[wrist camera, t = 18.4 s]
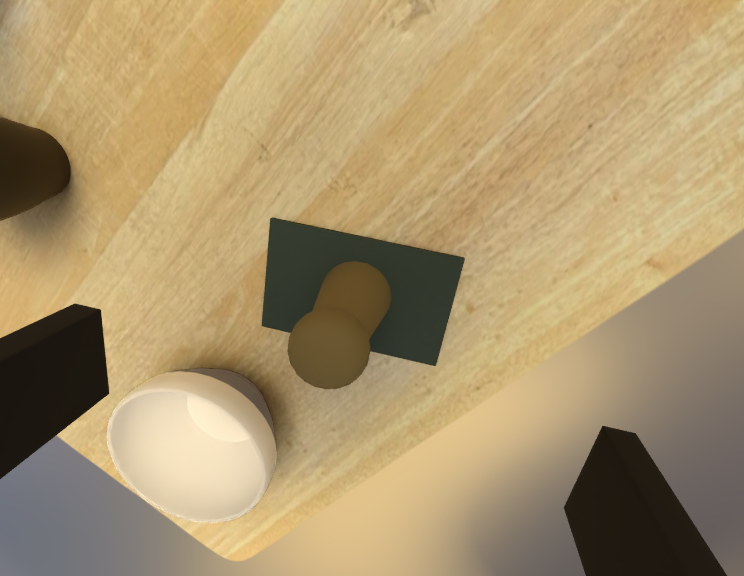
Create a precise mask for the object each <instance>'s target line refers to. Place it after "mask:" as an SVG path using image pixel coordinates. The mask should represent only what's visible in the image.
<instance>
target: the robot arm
mask: <svg viewBox="0 0 744 576" xmlns="http://www.w3.org/2000/svg"><path fill="white" fill-rule="evenodd" d="M108 394H109V386H108V377H107V367H106V357H105V347H104V337H103V327H102V317H101V310H100V309H96V308H92V307H87V306H83V305H79V304H73V305H71V306H69V307H66V308H64V309H62V310H60V311H58V312H56V313H54V314H51V315H49V316H47V317H45V318H43V319H41V320H38V321H36V322H34V323H32V324H30V325H28V326H26V327H23V328H21V329H19V330H17V331H15V332H13V333H11V334H8V335H6V336H4V337H2V338H0V479H1V478H2V477H3V476H5V475H6V474H7V473H8V472H10V471H11V470H12V469H14V468H15V467H16V466H17V465H19V464H20V463H21V462H23V461H24V460H25V459H26V458H28V457H29V456H30V455H32V454H33V453H34V452H35V451H36V450H38V449H39V448H40V447H42V446H43V445H44V444H45V443H47V442H48V441H49V440H51V439H52V438H53V437H54V436H56V435H57V434H58V433H60V432H61V431H62V430H63V429H65V428H66V427H67V426H68V425H70V424H71V423H72V422H74V421H75V420H76V419H77V418H79V417H80V416H81V415H83V414H84V413H85V412H86V411H88V410H89V409H90V408H91V407H93V406H94V405H95V404H97V403H98V402H99V401H100V400H102V399H103V398H104V397H105V396H107V395H108ZM564 509H565V513H566V516H567V518H568V522H569V525H570V528H571V531H572V534H573V537H574V540H575V543H576V547H577V550H578V553H579V556H580V559H581V562H582V565H583V568H584V571H585V574H586V576H727V575H726V573H725V572H724V570H723V569H722V567H721V566H720V564H719V563H718V561H717V559H716V558H715V556H714V555H713V553H712V552H711V550H710V548H709V547H708V545H707V544H706V542H705V541H704V539H703V538H702V536H701V535H700V533H699V532H698V530H697V528H696V527H695V525H694V524H693V522H692V520H691V519H690V517H689V516H688V514H687V513H686V511H685V510H684V508H683V506H682V505H681V503H680V502H679V500H678V499H677V497H676V496H675V494H674V493H673V491H672V489H671V488H670V486H669V485H668V483H667V481H666V480H665V478H664V477H663V475H662V474H661V472H660V471H659V470H658V467H657V466H656V465H655V463H654V461H653V460H652V458H651V457H650V455H649V454H648V452H647V451H646V449H645V447H644V446H643V444H642V443H641V441H640V439H639V438H638V436H637V435H636V433H632V432H627V431H623V430H619V429H614V428H610V427H606V426H602V428H601V430H600V432H599V435H598V437H597V439H596V441H595V443H594V445H593V447H592V449H591V451H590V454H589V456H588V458H587V460H586V462H585V464H584V466H583V468H582V470H581V472H580V475H579V477H578V479H577V481H576V483H575V485H574V487H573V489H572V491H571V494H570V496H569V498H568V500H567V502H566V505H565V506H564Z"/></svg>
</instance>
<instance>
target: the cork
mask: <svg viewBox="0 0 744 576" xmlns="http://www.w3.org/2000/svg"><path fill="white" fill-rule="evenodd" d="M390 302H391V291H390V286H389V284H388V282H387V280H386V278H385V277H384V275H383V274H382V273H381V272H380V271H379V270H378V269H376V268H375V267H373V266H371V265H369V264H367V263H363V262H358V261H351V262H344V263H342V264H339V265H337V266H335V267H334V268H333V269H332V270H331V271H330V272H328V273H327V275H326V277H325V279H324V281H323V283H322V286H321V288H320V291H319V294H318V297H317V299H316V302H315V305H314V308H313V310H312V312H310V313H308V314H306V315H305V316H304V317H303V318H302V319H301V320H299V321H298V322H297V324H296V325H295V326H294V328H293V330H292V332H291V334H290V337H289V343H288V355H289V359H290V363H291V365H292V366H293V368H294V370H295V371H296V373H297V374H298V375H299V376H300V377H301V378H302V379H303V380H304V381H305V382H307V383H309V384H311V385H313V386H314V387H318V388H323V389H337V388H341V387H343V386H346V385H349V384H351V383H352V382H353V381H354V380H356V379H357V378H358V377H359V376H360V375H361V374H362V372H363V371H364V369H365V367H366V366H367V363H368V359H369V354H370V344H369V339H370V337H371V336H372V334H373V333H374V331H375V330H376V328H377V327H378V325H379V324H380V322H381V321H382V319H383V318H384V316H385V314H386V313H387V311H388V309H389V307H390Z"/></svg>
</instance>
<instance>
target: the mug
mask: <svg viewBox="0 0 744 576" xmlns="http://www.w3.org/2000/svg"><path fill="white" fill-rule="evenodd" d="M69 178H70V166H69V162H68V158H67V156H66V154H65V152H64V150H63V149H62V147H61V145H60V144H59V143H58V142H57V141H56V140H55V139H54V138H53V137H52V136H50V135H49V134H48V133H46V132H44V131H42V130H40V129H36V128H32V127H29V126H26V125H23V124H20V123H17V122H14V121H11V120H8V119H4V118H1V117H0V221H1V220H4V219H7V218H10V217H13V216H15V215H18V214H20V213H22V212H25V211H27V210H29V209H31V208H33V207H35V206H36V205H38V204H40V203H42V202H43V201H45V200H47V199H49V198H50V197H52V196H55V195H57V194H59V193H60V192H62V191H63V190H64V189H65V188H66V186H67V184H68V182H69Z"/></svg>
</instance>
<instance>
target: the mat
mask: <svg viewBox="0 0 744 576" xmlns="http://www.w3.org/2000/svg"><path fill="white" fill-rule="evenodd" d="M464 260H465V259H464V258H463V257H458V256H453V255H449V254H444V253H439V252H434V251H429V250H425V249H420V248H415V247H410V246H406V245H401V244H396V243H391V242H386V241H382V240H377V239H372V238H367V237H362V236H358V235H353V234H348V233H343V232H338V231H334V230H329V229H324V228H319V227H315V226H310V225H305V224H300V223H295V222H291V221H286V220H281V219H276V218H271V219H270V230H269V243H268V255H267V267H266V279H265V292H264V304H263V316H262V326H264V327H268V328H272V329H277V330H281V331H285V332H290V333H291V332H292V330H293V328H294V326H295V325H296V324H297V322H298V321H299V320H301V319H302V318H303V317H304V316H305V315H306V314H308V313H310V312H312V310H313V308H314V305H315V302H316V299H317V297H318V294H319V291H320V288H321V286H322V283H323V281H324V279H325V277H326V275H327V273H328V272H330V271H331V270H332V269H333V268H334V267H335V266H337V265H339V264H342V263H344V262H351V261H358V262H363V263H367V264H369V265H371V266H373V267H375V268H376V269H378V270H379V271H380V272H381V273H382V274H383V275H384V277H385V278H386V280H387V282H388V284H389V286H390V291H391V302H390V307H389V309H388V311H387V313H386V314H385V316H384V318H383V319H382V321H381V322H380V324H379V325H378V327H377V328H376V330H375V331H374V333H373V334H372V336H371V337H370V339H369V344H370V351H372V352H377V353H381V354H386V355H390V356H394V357H399V358H403V359H407V360H412V361H416V362H420V363H425V364H429V365H433V366H436V363H437V359H438V356H439V352H440V348H441V344H442V341H443V337H444V333H445V330H446V326H447V322H448V319H449V315H450V311H451V308H452V304H453V300H454V297H455V293H456V289H457V285H458V282H459V278H460V274H461V271H462V267H463V263H464Z"/></svg>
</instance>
